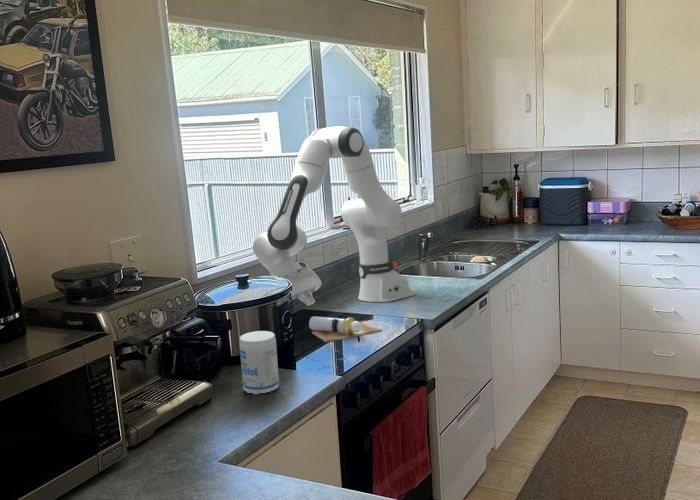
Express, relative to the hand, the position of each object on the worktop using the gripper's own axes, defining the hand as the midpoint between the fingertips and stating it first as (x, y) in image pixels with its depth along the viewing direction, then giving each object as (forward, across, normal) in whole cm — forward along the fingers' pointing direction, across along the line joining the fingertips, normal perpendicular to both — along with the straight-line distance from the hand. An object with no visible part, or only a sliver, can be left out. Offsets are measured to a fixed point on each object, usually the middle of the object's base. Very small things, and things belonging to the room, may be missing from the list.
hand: (311, 303), depth 232 cm
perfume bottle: (+4, -1, +5) cm, 7 cm away
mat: (+15, +3, -2) cm, 15 cm away
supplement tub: (+20, -48, -7) cm, 53 cm away
